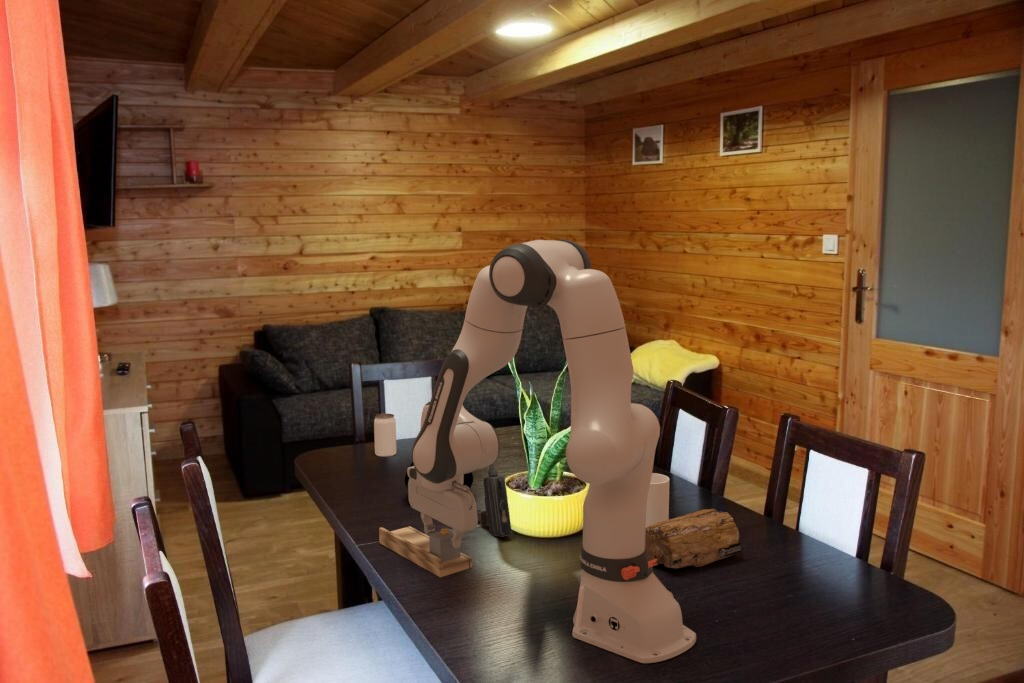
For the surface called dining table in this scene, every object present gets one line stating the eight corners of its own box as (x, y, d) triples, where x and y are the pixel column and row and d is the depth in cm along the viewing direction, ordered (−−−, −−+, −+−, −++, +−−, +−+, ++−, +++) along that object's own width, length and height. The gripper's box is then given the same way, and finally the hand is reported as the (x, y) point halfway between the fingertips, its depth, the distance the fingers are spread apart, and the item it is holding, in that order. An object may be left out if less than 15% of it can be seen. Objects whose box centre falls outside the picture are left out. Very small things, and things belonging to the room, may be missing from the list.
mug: (641, 540, 199) (642, 489, 197) (614, 529, 205) (615, 479, 203) (677, 528, 206) (678, 478, 204) (650, 518, 212) (651, 470, 211)
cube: (460, 557, 185) (460, 529, 184) (440, 563, 182) (440, 535, 181) (449, 551, 188) (449, 524, 187) (429, 557, 185) (429, 529, 184)
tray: (472, 567, 184) (471, 551, 184) (440, 577, 179) (439, 561, 179) (409, 534, 203) (409, 519, 202) (379, 543, 198) (379, 528, 197)
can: (389, 450, 273) (388, 412, 271) (400, 454, 268) (399, 415, 266) (370, 454, 269) (369, 415, 267) (382, 458, 264) (381, 419, 262)
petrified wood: (674, 578, 177) (667, 529, 178) (635, 569, 189) (628, 523, 189) (746, 556, 187) (739, 509, 187) (704, 549, 198) (698, 504, 198)
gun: (476, 460, 213) (504, 459, 200) (485, 530, 212) (513, 534, 199) (466, 462, 212) (493, 461, 199) (474, 532, 210) (502, 536, 197)
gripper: (485, 485, 176) (484, 551, 178) (427, 461, 192) (427, 522, 194) (459, 491, 172) (459, 559, 174) (402, 466, 188) (403, 529, 190)
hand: (442, 539), depth 184 cm, fingers open, 8 cm apart
